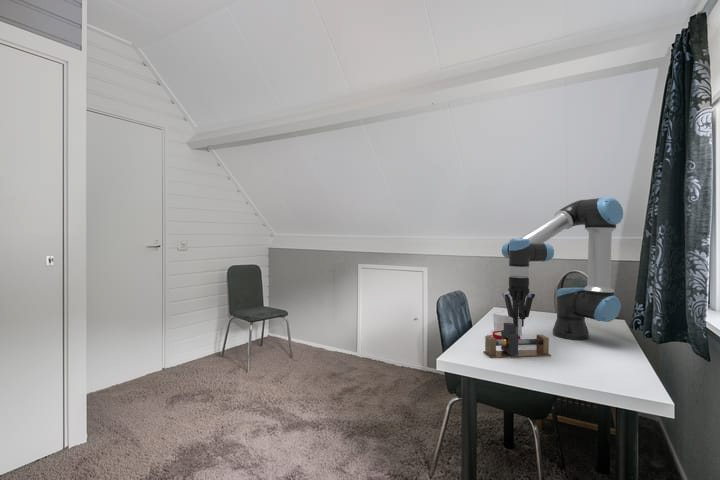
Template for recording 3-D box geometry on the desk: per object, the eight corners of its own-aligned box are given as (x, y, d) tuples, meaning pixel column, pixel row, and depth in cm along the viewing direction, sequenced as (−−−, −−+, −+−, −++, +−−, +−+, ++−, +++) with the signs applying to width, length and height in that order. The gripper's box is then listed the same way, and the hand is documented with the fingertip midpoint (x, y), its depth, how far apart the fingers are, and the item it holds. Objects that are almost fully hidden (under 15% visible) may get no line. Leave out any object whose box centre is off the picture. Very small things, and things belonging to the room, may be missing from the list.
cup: (489, 333, 181) (489, 313, 181) (497, 329, 189) (497, 310, 189) (510, 337, 175) (510, 316, 175) (517, 333, 182) (517, 313, 182)
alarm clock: (494, 329, 176) (526, 328, 166) (497, 343, 175) (529, 342, 165) (484, 334, 168) (517, 332, 158) (487, 348, 167) (521, 347, 157)
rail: (540, 350, 155) (541, 333, 155) (551, 356, 148) (551, 338, 148) (483, 352, 152) (483, 335, 152) (490, 358, 145) (491, 340, 145)
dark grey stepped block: (508, 349, 154) (508, 321, 154) (518, 355, 146) (518, 326, 146) (501, 349, 154) (501, 321, 153) (510, 355, 146) (511, 326, 145)
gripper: (529, 275, 154) (528, 331, 154) (499, 275, 153) (498, 332, 153) (539, 277, 146) (538, 336, 147) (508, 277, 145) (507, 337, 146)
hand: (518, 334), depth 150 cm, fingers closed
